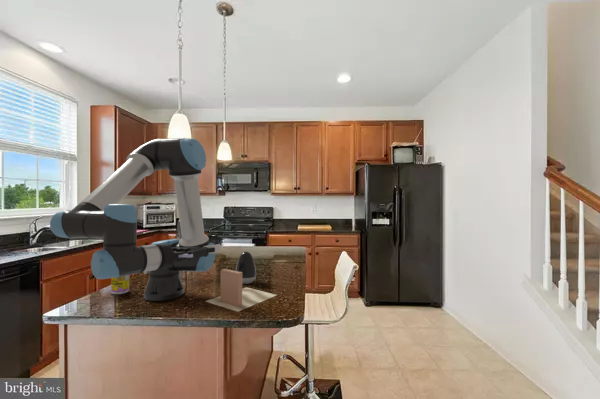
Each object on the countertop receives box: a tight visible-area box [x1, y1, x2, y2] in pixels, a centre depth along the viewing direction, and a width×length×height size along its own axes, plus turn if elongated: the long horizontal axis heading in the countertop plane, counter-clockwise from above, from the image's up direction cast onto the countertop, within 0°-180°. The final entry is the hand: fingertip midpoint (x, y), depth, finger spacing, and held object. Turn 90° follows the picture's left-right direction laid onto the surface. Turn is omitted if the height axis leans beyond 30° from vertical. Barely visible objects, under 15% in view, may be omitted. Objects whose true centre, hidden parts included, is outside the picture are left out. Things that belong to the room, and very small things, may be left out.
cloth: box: [205, 287, 277, 313], centre depth 113 cm, size 22×18×1 cm
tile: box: [219, 268, 243, 306], centre depth 108 cm, size 2×10×12 cm, turn 55°
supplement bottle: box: [110, 275, 130, 295], centre depth 122 cm, size 7×7×13 cm
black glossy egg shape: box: [235, 251, 257, 285], centre depth 137 cm, size 10×10×15 cm
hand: (219, 248), depth 103 cm, fingers closed
